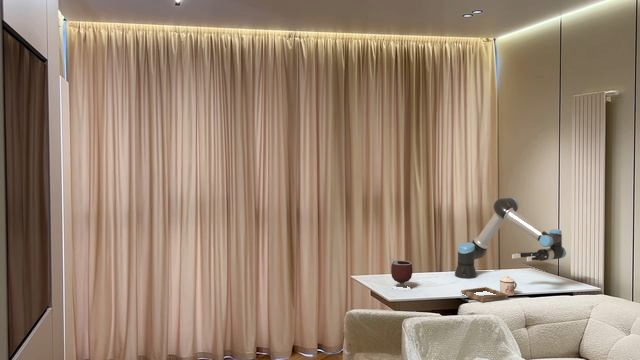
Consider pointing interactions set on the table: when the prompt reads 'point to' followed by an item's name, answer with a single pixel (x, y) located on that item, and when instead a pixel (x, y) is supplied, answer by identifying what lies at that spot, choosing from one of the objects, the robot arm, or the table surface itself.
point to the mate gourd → (401, 271)
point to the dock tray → (485, 298)
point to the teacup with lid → (507, 285)
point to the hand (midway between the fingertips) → (519, 257)
